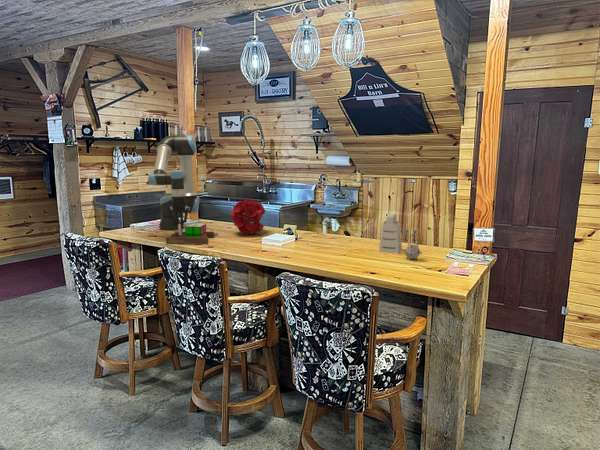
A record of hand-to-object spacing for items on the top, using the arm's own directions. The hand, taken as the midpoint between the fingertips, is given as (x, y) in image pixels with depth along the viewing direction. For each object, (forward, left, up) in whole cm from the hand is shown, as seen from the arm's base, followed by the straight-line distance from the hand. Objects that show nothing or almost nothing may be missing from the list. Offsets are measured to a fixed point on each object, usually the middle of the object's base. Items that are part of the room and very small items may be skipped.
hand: (180, 234), depth 262 cm
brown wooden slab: (0, +6, -4) cm, 8 cm away
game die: (+47, +129, -4) cm, 138 cm away
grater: (+28, +122, -4) cm, 126 cm away
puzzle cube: (0, +9, -5) cm, 11 cm away
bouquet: (-24, +40, -4) cm, 47 cm away
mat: (-17, +12, -4) cm, 21 cm away
